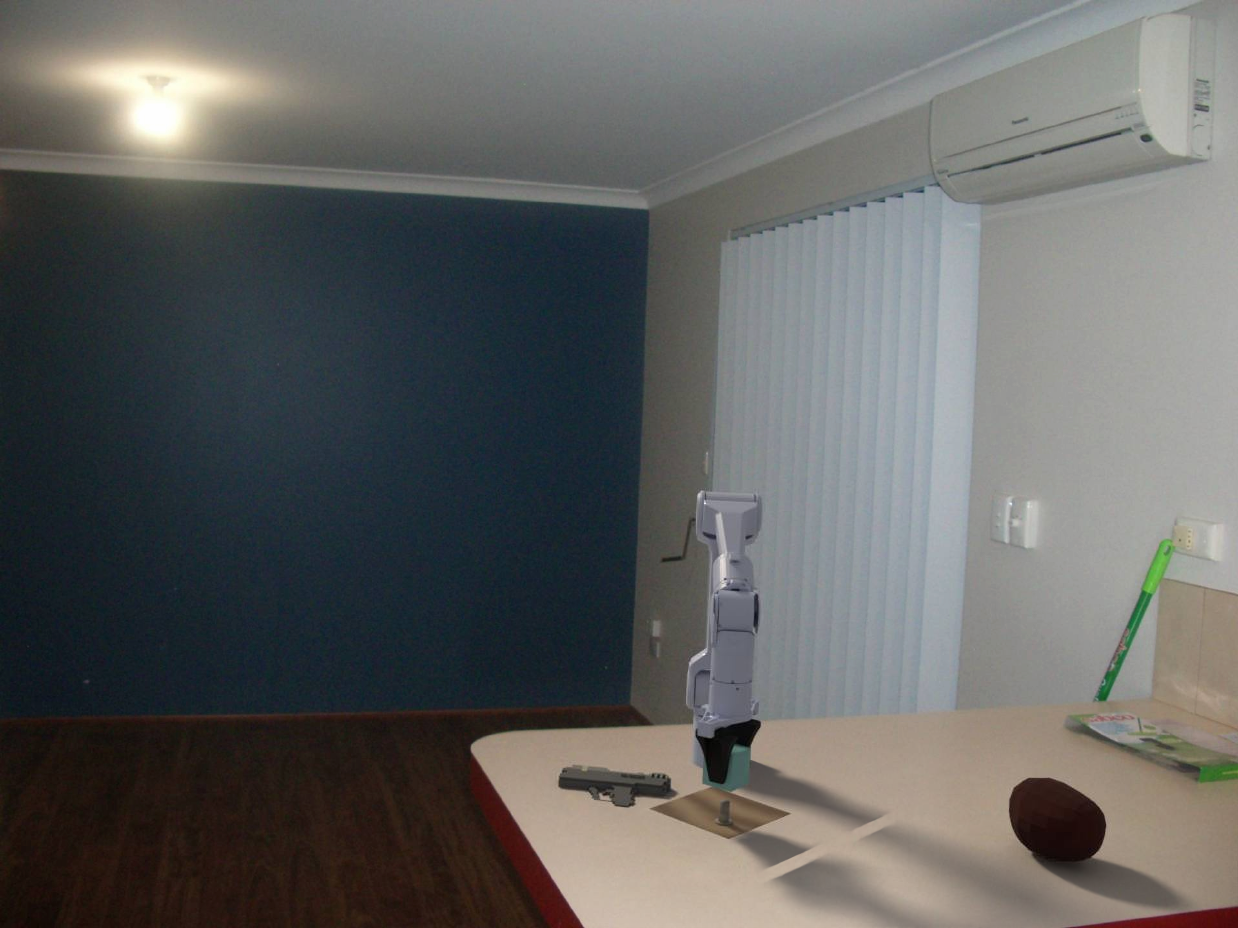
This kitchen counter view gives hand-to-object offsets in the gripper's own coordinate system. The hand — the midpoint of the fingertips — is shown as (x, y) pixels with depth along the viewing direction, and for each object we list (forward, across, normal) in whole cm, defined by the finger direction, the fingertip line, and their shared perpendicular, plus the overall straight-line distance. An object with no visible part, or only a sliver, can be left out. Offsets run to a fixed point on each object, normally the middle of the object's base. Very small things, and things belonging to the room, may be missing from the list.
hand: (726, 776), depth 164 cm
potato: (+8, -18, +40) cm, 44 cm away
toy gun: (+8, 0, -18) cm, 20 cm away
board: (+7, -4, -2) cm, 9 cm away
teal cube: (+1, 0, 0) cm, 1 cm away
